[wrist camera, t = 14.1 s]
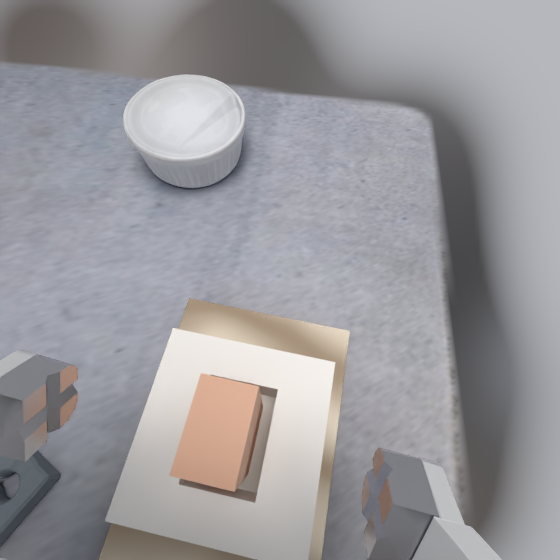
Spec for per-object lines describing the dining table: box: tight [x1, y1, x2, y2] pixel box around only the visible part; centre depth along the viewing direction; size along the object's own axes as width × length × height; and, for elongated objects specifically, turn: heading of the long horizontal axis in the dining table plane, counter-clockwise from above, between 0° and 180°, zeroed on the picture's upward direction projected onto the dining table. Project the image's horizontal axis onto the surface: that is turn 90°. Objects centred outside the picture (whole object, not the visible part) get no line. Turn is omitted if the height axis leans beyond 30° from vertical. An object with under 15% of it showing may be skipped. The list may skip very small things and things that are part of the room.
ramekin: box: [123, 75, 246, 188], centre depth 34 cm, size 11×11×5 cm
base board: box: [99, 298, 350, 560], centre depth 24 cm, size 18×13×2 cm
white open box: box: [105, 328, 335, 560], centre depth 21 cm, size 10×10×6 cm
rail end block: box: [169, 373, 263, 492], centre depth 18 cm, size 4×3×9 cm, turn 168°
